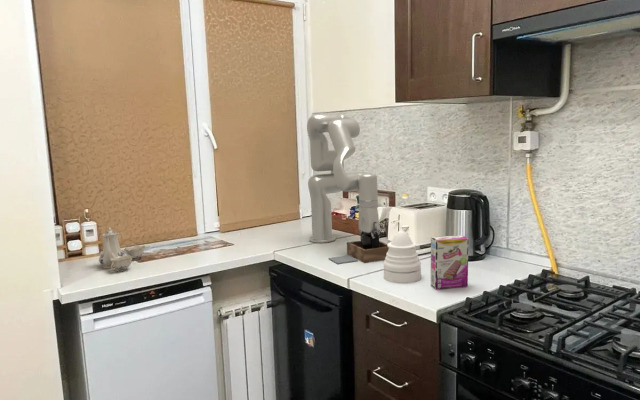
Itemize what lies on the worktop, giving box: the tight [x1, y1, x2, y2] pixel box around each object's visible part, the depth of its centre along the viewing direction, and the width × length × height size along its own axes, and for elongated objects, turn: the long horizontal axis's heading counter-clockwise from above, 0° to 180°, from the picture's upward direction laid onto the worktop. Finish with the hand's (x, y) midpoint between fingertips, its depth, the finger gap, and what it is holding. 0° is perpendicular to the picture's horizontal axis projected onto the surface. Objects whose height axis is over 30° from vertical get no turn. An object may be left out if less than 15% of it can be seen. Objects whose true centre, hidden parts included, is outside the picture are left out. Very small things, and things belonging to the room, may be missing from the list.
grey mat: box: [328, 254, 359, 265], centre depth 196 cm, size 9×9×1 cm
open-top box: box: [346, 240, 389, 264], centre depth 200 cm, size 16×13×5 cm
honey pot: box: [383, 224, 422, 284], centre depth 169 cm, size 13×13×18 cm
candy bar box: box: [430, 235, 470, 290], centre depth 157 cm, size 11×5×16 cm, turn 99°
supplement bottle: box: [360, 230, 375, 250], centre depth 199 cm, size 7×7×12 cm
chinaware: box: [98, 227, 146, 272], centre depth 201 cm, size 28×17×17 cm, turn 9°
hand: (369, 245), depth 199 cm, fingers open, 9 cm apart
